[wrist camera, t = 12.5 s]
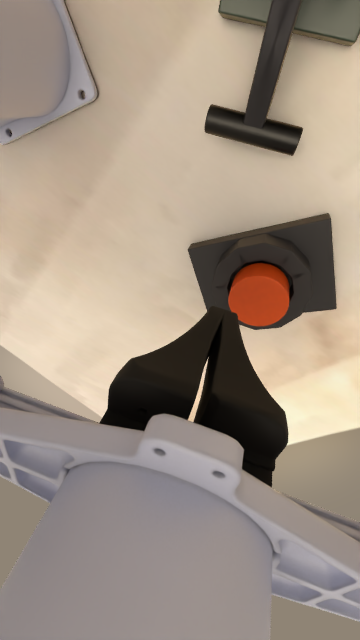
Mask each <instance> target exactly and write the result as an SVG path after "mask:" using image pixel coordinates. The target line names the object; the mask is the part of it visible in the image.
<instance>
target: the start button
mask: <svg viewBox="0 0 360 640" xmlns="http://www.w3.org/2000/svg"><path fill="white" fill-rule="evenodd" d="M228 303H229V307H230V309H231V311H232V312H234V313H237V315H238V319H239V320H240V321H242V322H244V323H246V324H248V325H252V326H267V325H271V324H273V323H275V322H277V321H279V320H280V319H281V318H282V317H283V316H284V315H285V314H286V312H287V310H288V307H289V283H288V279H287V277H286V276H285V274H284V273H283V272H282V271H281V270H280V269H279V268H277V267H275V266H273V265H271V264H267V263H255V264H251V265H248V266H246V267H244V268H243V269H241V270H240V271H239V272H238V273H237V274H236V276H235V278H234V280H233V283H232V286H231V290H230V293H229V298H228Z"/></svg>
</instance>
